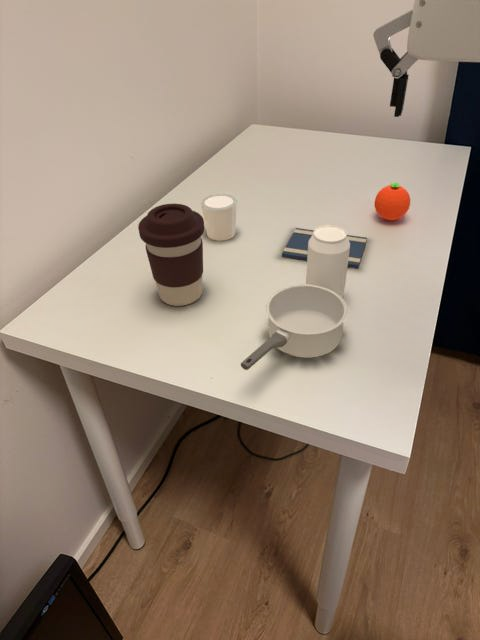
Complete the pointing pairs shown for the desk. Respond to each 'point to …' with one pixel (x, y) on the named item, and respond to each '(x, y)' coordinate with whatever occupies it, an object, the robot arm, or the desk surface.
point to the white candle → (220, 216)
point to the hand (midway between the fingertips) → (442, 116)
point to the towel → (299, 247)
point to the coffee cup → (174, 251)
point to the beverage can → (328, 258)
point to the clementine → (392, 202)
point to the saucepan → (302, 322)
